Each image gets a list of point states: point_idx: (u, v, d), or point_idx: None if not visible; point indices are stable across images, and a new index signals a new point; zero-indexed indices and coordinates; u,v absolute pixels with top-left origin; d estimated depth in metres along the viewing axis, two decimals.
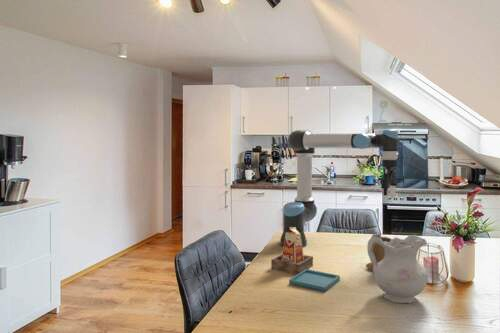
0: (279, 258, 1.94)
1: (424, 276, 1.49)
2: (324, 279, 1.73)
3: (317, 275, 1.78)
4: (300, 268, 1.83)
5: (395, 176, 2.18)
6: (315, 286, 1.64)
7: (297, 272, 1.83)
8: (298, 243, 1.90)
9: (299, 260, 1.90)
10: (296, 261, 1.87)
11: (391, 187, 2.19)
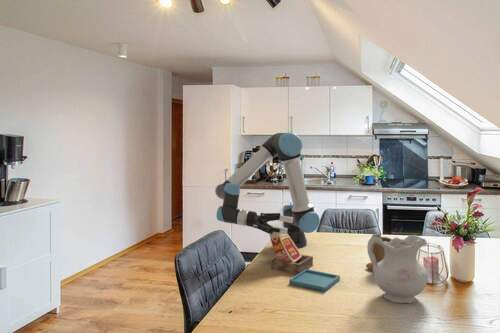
0: None
1: (424, 276, 1.49)
2: (324, 279, 1.73)
3: (317, 275, 1.78)
4: (300, 268, 1.83)
5: (270, 213, 2.04)
6: (315, 286, 1.64)
7: (297, 272, 1.83)
8: (284, 236, 1.92)
9: (293, 251, 1.90)
10: (289, 253, 1.87)
11: (281, 219, 2.02)
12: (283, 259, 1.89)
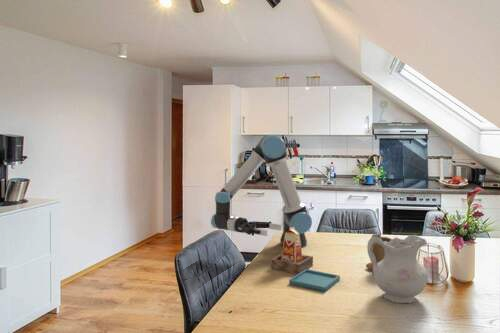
0: (279, 258, 1.94)
1: (424, 276, 1.49)
2: (324, 279, 1.73)
3: (317, 275, 1.78)
4: (300, 268, 1.83)
5: (261, 222, 2.09)
6: (315, 286, 1.64)
7: (297, 272, 1.83)
8: (297, 243, 1.89)
9: (299, 260, 1.89)
10: (296, 261, 1.87)
11: (270, 227, 2.05)
12: None
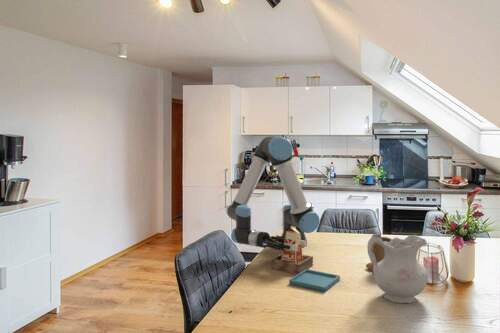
0: (279, 258, 1.94)
1: (424, 276, 1.49)
2: (324, 279, 1.73)
3: (317, 275, 1.78)
4: (300, 268, 1.83)
5: (284, 237, 2.00)
6: (315, 286, 1.64)
7: (297, 272, 1.83)
8: (298, 242, 1.90)
9: (299, 259, 1.90)
10: (296, 260, 1.87)
11: None
12: None
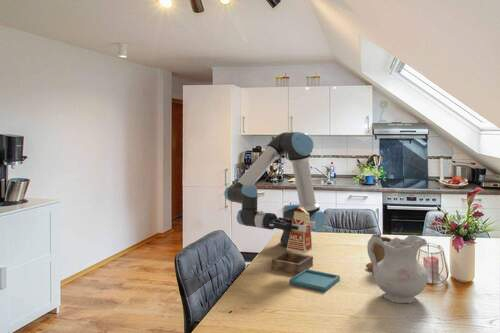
0: (279, 258, 1.94)
1: (424, 276, 1.49)
2: (324, 279, 1.73)
3: (317, 275, 1.78)
4: (300, 268, 1.83)
5: None
6: (315, 286, 1.64)
7: (297, 272, 1.83)
8: (307, 223, 1.79)
9: (308, 241, 1.79)
10: (305, 242, 1.76)
11: None
12: (295, 244, 1.77)
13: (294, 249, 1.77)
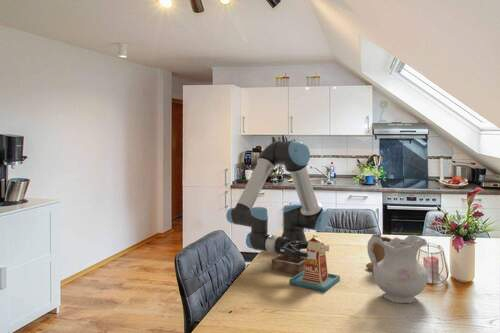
0: (279, 258, 1.94)
1: (424, 276, 1.49)
2: None
3: None
4: (300, 268, 1.83)
5: (304, 241, 1.82)
6: (315, 286, 1.64)
7: (297, 272, 1.83)
8: (322, 253, 1.70)
9: (324, 272, 1.70)
10: (321, 273, 1.67)
11: None
12: (311, 276, 1.68)
13: (310, 281, 1.69)
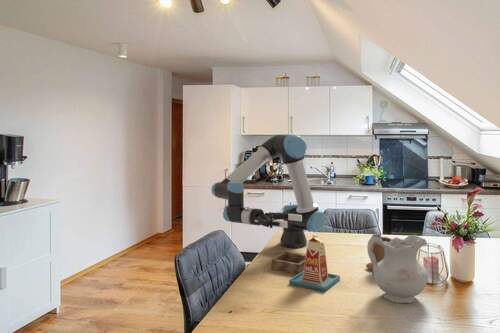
0: (279, 258, 1.94)
1: (424, 276, 1.49)
2: None
3: None
4: (300, 268, 1.83)
5: None
6: (315, 286, 1.64)
7: (297, 272, 1.83)
8: (322, 253, 1.70)
9: (324, 272, 1.70)
10: (321, 273, 1.67)
11: (289, 218, 1.85)
12: (311, 276, 1.68)
13: (310, 281, 1.69)
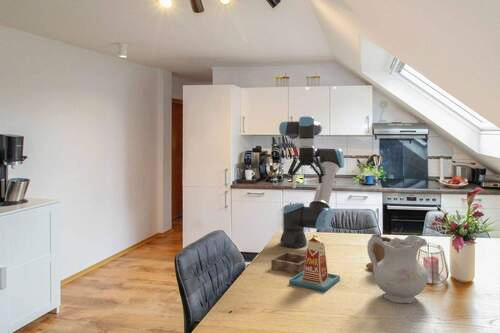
0: (279, 258, 1.94)
1: (424, 276, 1.49)
2: None
3: None
4: (300, 268, 1.83)
5: (294, 165, 2.13)
6: (315, 286, 1.64)
7: (297, 272, 1.83)
8: (322, 253, 1.70)
9: (324, 272, 1.70)
10: (321, 273, 1.67)
11: (294, 177, 2.11)
12: (311, 276, 1.68)
13: (310, 281, 1.69)
